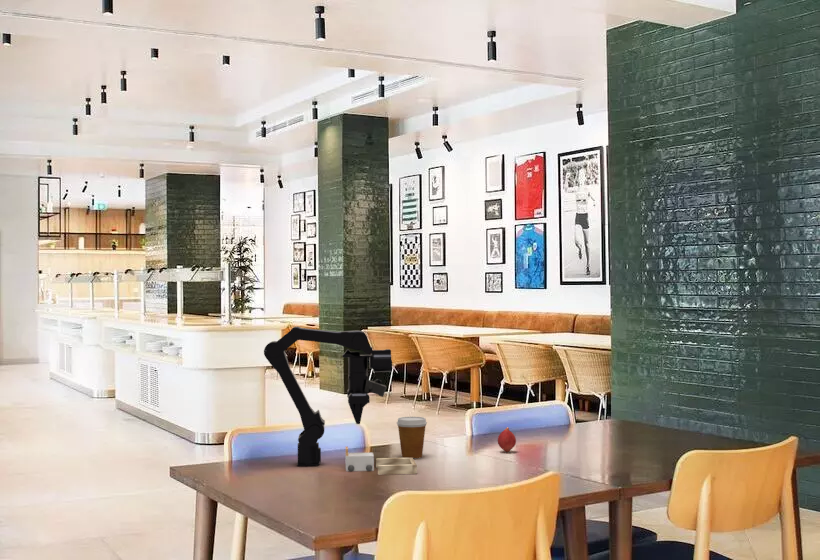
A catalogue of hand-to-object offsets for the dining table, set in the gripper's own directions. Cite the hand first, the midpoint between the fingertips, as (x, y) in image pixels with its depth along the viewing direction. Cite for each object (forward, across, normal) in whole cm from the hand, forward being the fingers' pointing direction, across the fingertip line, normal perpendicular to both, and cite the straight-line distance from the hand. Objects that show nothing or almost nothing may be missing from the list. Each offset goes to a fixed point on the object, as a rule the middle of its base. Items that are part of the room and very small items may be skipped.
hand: (358, 424), depth 283 cm
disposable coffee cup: (+12, +9, -17) cm, 23 cm away
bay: (+12, -12, -10) cm, 20 cm away
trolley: (+12, -9, 0) cm, 15 cm away
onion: (+12, +14, -48) cm, 51 cm away
